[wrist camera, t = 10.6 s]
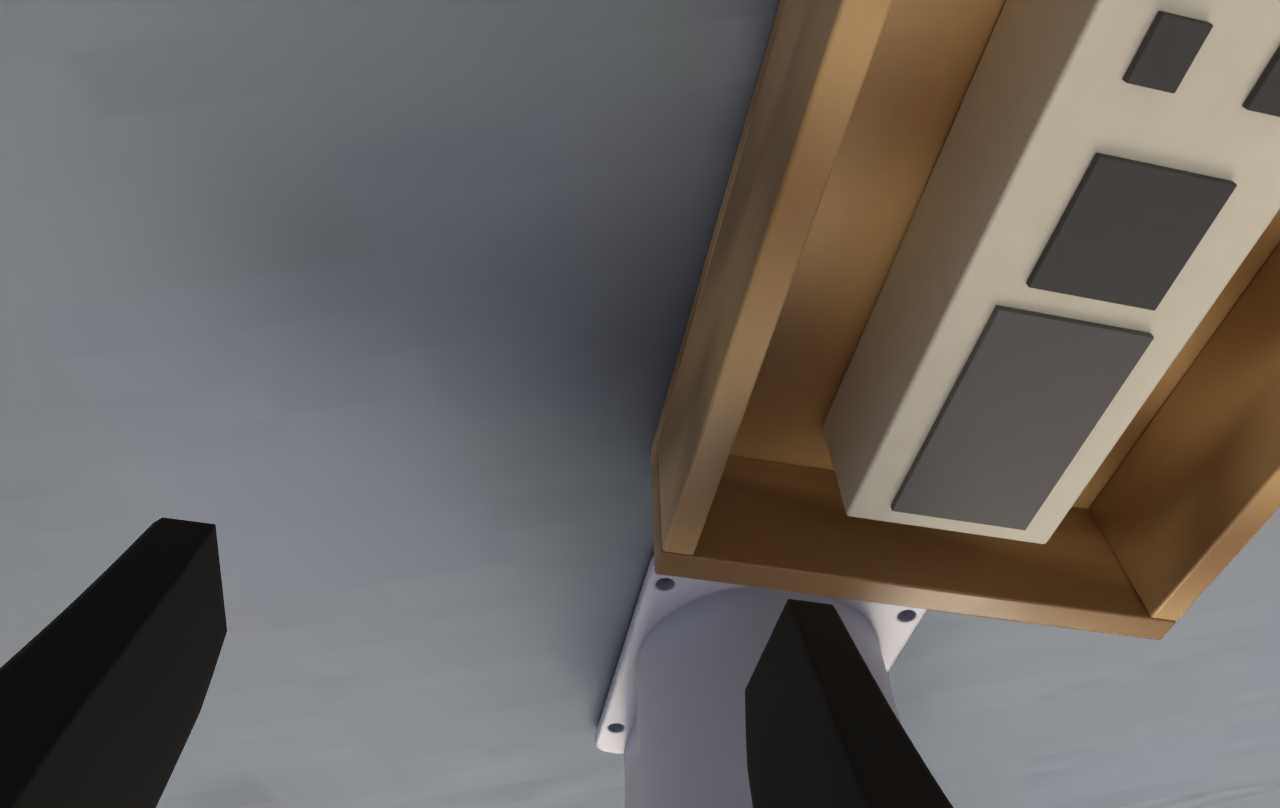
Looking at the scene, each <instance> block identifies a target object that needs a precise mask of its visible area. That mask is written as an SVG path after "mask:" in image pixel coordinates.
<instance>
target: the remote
mask: <svg viewBox="0 0 1280 808" xmlns="http://www.w3.org/2000/svg"><path fill="white" fill-rule="evenodd" d="M1279 209H1280V0H1006V2H1005V4H1004V7H1003V9H1002V11H1001V13H1000V16H999V18H998V20H997V23H996V25H995V27H994V30H993V32H992V34H991V37H990V39H989V41H988V44H987V46H986V48H985V51H984V53H983V55H982V58H981V60H980V62H979V65H978V67H977V69H976V71H975V74H974V76H973V78H972V81H971V83H970V85H969V88H968V90H967V92H966V95H965V97H964V99H963V102H962V104H961V106H960V109H959V111H958V113H957V116H956V118H955V120H954V123H953V125H952V127H951V130H950V132H949V134H948V136H947V139H946V141H945V143H944V146H943V148H942V150H941V153H940V155H939V157H938V160H937V162H936V164H935V167H934V169H933V171H932V174H931V176H930V178H929V181H928V183H927V185H926V188H925V190H924V192H923V195H922V197H921V199H920V201H919V204H918V206H917V208H916V211H915V213H914V215H913V218H912V220H911V222H910V225H909V227H908V229H907V232H906V234H905V236H904V239H903V241H902V243H901V246H900V248H899V250H898V253H897V255H896V257H895V259H894V262H893V264H892V266H891V269H890V271H889V273H888V276H887V278H886V280H885V283H884V285H883V287H882V290H881V292H880V294H879V297H878V299H877V301H876V304H875V306H874V308H873V311H872V313H871V315H870V318H869V320H868V322H867V324H866V327H865V329H864V331H863V334H862V336H861V338H860V341H859V343H858V345H857V348H856V350H855V352H854V355H853V357H852V359H851V362H850V364H849V366H848V369H847V371H846V373H845V376H844V378H843V380H842V382H841V385H840V387H839V389H838V392H837V394H836V396H835V399H834V401H833V403H832V406H831V408H830V410H829V413H828V415H827V417H826V420H825V422H824V424H823V430H824V434H825V437H826V441H827V445H828V449H829V452H830V456H831V460H832V463H833V467H834V471H835V475H836V478H837V482H838V486H839V489H840V493H841V497H842V500H843V504H844V508H845V512H846V514H847V515H848V516H851V517H858V518H865V519H872V520H879V521H886V522H892V523H899V524H906V525H913V526H920V527H927V528H934V529H941V530H948V531H955V532H962V533H969V534H976V535H983V536H990V537H997V538H1004V539H1011V540H1018V541H1025V542H1032V543H1039V544H1045V543H1047V541H1048V540H1049V539H1050V537H1051V536H1052V534H1053V533H1054V531H1055V530H1056V529H1057V527H1058V526H1059V524H1060V523H1061V521H1062V520H1063V518H1064V517H1065V516H1066V514H1067V513H1068V511H1069V510H1070V508H1071V507H1072V506H1073V504H1074V503H1075V501H1076V500H1077V498H1078V497H1079V496H1080V494H1081V493H1082V491H1083V490H1084V488H1085V487H1086V486H1087V484H1088V483H1089V481H1090V480H1091V478H1092V477H1093V476H1094V474H1095V473H1096V471H1097V470H1098V468H1099V467H1100V466H1101V464H1102V463H1103V461H1104V460H1105V458H1106V457H1107V455H1108V454H1109V453H1110V451H1111V450H1112V448H1113V447H1114V445H1115V444H1116V443H1117V441H1118V440H1119V438H1120V437H1121V435H1122V434H1123V433H1124V431H1125V430H1126V428H1127V427H1128V425H1129V424H1130V423H1131V421H1132V420H1133V418H1134V417H1135V415H1136V414H1137V413H1138V411H1139V410H1140V408H1141V407H1142V405H1143V404H1144V403H1145V401H1146V400H1147V398H1148V397H1149V395H1150V394H1151V392H1152V391H1153V390H1154V388H1155V387H1156V385H1157V384H1158V382H1159V381H1160V380H1161V378H1162V377H1163V375H1164V374H1165V372H1166V371H1167V370H1168V368H1169V367H1170V365H1171V364H1172V362H1173V361H1174V360H1175V358H1176V357H1177V355H1178V354H1179V352H1180V351H1181V350H1182V348H1183V347H1184V345H1185V344H1186V342H1187V341H1188V340H1189V338H1190V337H1191V335H1192V334H1193V332H1194V331H1195V329H1196V328H1197V327H1198V325H1199V324H1200V322H1201V321H1202V319H1203V318H1204V317H1205V315H1206V314H1207V312H1208V311H1209V309H1210V308H1211V307H1212V305H1213V304H1214V302H1215V301H1216V299H1217V298H1218V297H1219V295H1220V294H1221V292H1222V291H1223V289H1224V288H1225V287H1226V285H1227V284H1228V282H1229V281H1230V279H1231V278H1232V277H1233V275H1234V274H1235V272H1236V271H1237V269H1238V268H1239V266H1240V265H1241V264H1242V262H1243V261H1244V259H1245V258H1246V256H1247V255H1248V254H1249V252H1250V251H1251V249H1252V248H1253V246H1254V245H1255V244H1256V242H1257V241H1258V239H1259V238H1260V236H1261V235H1262V234H1263V232H1264V231H1265V229H1266V228H1267V226H1268V225H1269V224H1270V222H1271V221H1272V219H1273V218H1274V216H1275V215H1276V214H1277V212H1278V211H1279Z"/></svg>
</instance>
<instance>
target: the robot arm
mask: <svg viewBox="0 0 1280 808" xmlns="http://www.w3.org/2000/svg"><path fill="white" fill-rule="evenodd" d="M662 578H669V579H668V580H662ZM926 611H927V609H919V608H911V607H904V606H896V605H889V604H881V603H873V602H866V601H858V600H850V599H843V598H835V597H827V596H820V595H812V594H804V593H797V592H789V591H782V590H774V589H766V588H759V587H751V586H743V585H736V584H728V583H720V582H713V581H705V580H698V579H690V578H682V577H675V576H667V575H659V574H655V566H654V556H653V558H652V559H651V561H650V564H649V567H648V571H647V574H646V577H645V580H644V583H643V586H642V589H641V593H640V596H639V599H638V602H637V605H636V608H635V611H634V614H633V618H632V621H631V624H630V627H629V630H628V633H627V636H626V640H625V643H624V646H623V649H622V652H621V655H620V658H619V662H618V665H617V668H616V671H615V674H614V677H613V680H612V684H611V687H610V690H609V693H608V696H607V699H606V702H605V705H604V709H603V712H602V715H601V718H600V721H599V724H598V727H597V731H596V734H595V746H596V747H597V748H598V749H599V750H601V751H603V752H607V753H617V754H625V808H953V806H952V805H951V804H950V802H949V801H948V799H947V797H946V796H945V794H944V793H943V791H942V790H941V788H940V787H939V785H938V784H937V782H936V780H935V779H934V777H933V776H932V774H931V773H930V771H929V769H928V768H927V766H926V765H925V763H924V761H923V760H922V758H921V756H920V755H919V753H918V751H917V750H916V748H915V747H914V745H913V743H912V742H911V740H910V738H909V737H908V735H907V734H906V732H905V730H904V729H903V727H902V725H901V724H900V720H899V716H898V713H897V709H896V705H895V701H894V698H893V694H892V690H891V686H890V683H889V679H888V675H887V673H888V672H889V670H890V669H891V667H892V665H893V664H894V662H895V661H896V659H897V657H898V656H899V654H900V653H901V651H902V649H903V648H904V646H905V644H906V643H907V641H908V640H909V638H910V636H911V635H912V633H913V632H914V630H915V628H916V627H917V625H918V624H919V622H920V620H921V619H922V617H923V616H924V614H925V612H926ZM226 632H227V627H226V618H225V609H224V599H223V590H222V581H221V572H220V563H219V554H218V545H217V536H216V527H215V524H208V523H200V522H192V521H185V520H177V519H169V518H161V519H159V520H158V521H156V522H154V523H153V524H152V525H151V526H150V527H149V528H148V529H147V530H146V531H145V532H144V533H143V534H142V535H141V536H140V537H139V538H138V539H137V540H136V541H135V542H134V543H133V544H132V545H131V546H130V547H129V548H128V549H127V550H126V551H125V552H124V553H123V554H122V555H121V556H120V557H119V558H118V559H117V560H116V561H115V562H114V563H113V564H112V565H111V566H110V567H109V568H108V569H107V570H106V571H105V572H104V573H103V574H102V575H101V576H100V577H99V578H98V579H97V580H96V581H95V582H94V583H92V584H91V585H90V586H89V587H88V588H87V589H86V590H85V591H84V592H83V593H82V594H81V595H80V596H79V597H78V598H77V599H76V600H75V601H74V602H73V603H71V604H70V605H69V606H68V607H67V608H66V609H65V610H64V611H63V612H62V613H61V614H60V615H59V616H58V617H56V618H55V619H54V620H53V621H52V622H51V623H50V624H49V625H48V626H46V627H45V628H44V629H43V630H42V631H41V632H40V633H39V634H38V635H37V636H35V637H34V638H33V639H32V640H31V641H30V642H29V643H28V644H27V645H26V646H24V647H23V648H22V649H21V650H20V651H19V652H18V653H17V654H16V655H14V656H13V657H12V658H11V659H10V660H9V661H8V662H7V663H6V664H4V665H3V666H2V667H1V668H0V808H156V806H157V804H158V802H159V799H160V797H161V795H162V793H163V791H164V789H165V787H166V784H167V782H168V780H169V778H170V776H171V774H172V772H173V769H174V767H175V765H176V763H177V761H178V759H179V756H180V754H181V752H182V750H183V748H184V746H185V743H186V741H187V739H188V737H189V735H190V733H191V730H192V728H193V726H194V724H195V722H196V719H197V717H198V715H199V713H200V711H201V708H202V705H203V702H204V699H205V696H206V693H207V690H208V687H209V684H210V681H211V679H212V676H213V673H214V669H215V666H216V663H217V660H218V657H219V654H220V651H221V648H222V645H223V642H224V638H225V635H226Z"/></svg>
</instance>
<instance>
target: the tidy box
mask: <svg viewBox="0 0 1280 808" xmlns="http://www.w3.org/2000/svg"><path fill="white" fill-rule="evenodd" d="M1005 2H1006V0H780V2H779V6H778V9H777V13H776V16H775V20H774V23H773V27H772V30H771V34H770V37H769V41H768V44H767V48H766V51H765V55H764V58H763V62H762V65H761V69H760V72H759V76H758V79H757V83H756V86H755V89H754V93H753V96H752V100H751V103H750V107H749V110H748V114H747V117H746V121H745V124H744V128H743V131H742V135H741V138H740V142H739V145H738V149H737V152H736V156H735V159H734V163H733V166H732V170H731V173H730V176H729V180H728V183H727V187H726V190H725V194H724V197H723V201H722V204H721V208H720V211H719V215H718V218H717V222H716V225H715V229H714V232H713V236H712V239H711V243H710V246H709V250H708V253H707V256H706V260H705V263H704V267H703V270H702V274H701V277H700V281H699V284H698V288H697V291H696V295H695V298H694V302H693V305H692V309H691V312H690V316H689V319H688V323H687V326H686V330H685V333H684V337H683V340H682V343H681V347H680V350H679V354H678V357H677V361H676V364H675V368H674V371H673V375H672V378H671V382H670V385H669V389H668V392H667V396H666V399H665V403H664V406H663V410H662V413H661V417H660V420H659V424H658V427H657V430H656V434H655V437H654V441H653V444H652V448H651V480H652V509H653V538H654V566H655V574H659V575H667V576H675V577H682V578H690V579H698V580H705V581H713V582H720V583H728V584H736V585H743V586H751V587H759V588H766V589H774V590H782V591H789V592H797V593H804V594H812V595H820V596H827V597H835V598H843V599H850V600H858V601H866V602H873V603H881V604H889V605H896V606H904V607H911V608H919V609H927V610H934V611H942V612H950V613H957V614H965V615H973V616H980V617H988V618H995V619H1003V620H1011V621H1018V622H1026V623H1034V624H1041V625H1049V626H1057V627H1064V628H1072V629H1080V630H1087V631H1095V632H1102V633H1110V634H1118V635H1125V636H1133V637H1141V638H1148V639H1156V640H1160V639H1161V638H1162V637H1163V636H1164V635H1165V634H1166V633H1167V632H1168V631H1169V630H1170V628H1171V627H1172V626H1173V625H1174V624H1175V622H1176V620H1178V619H1179V618H1180V617H1181V616H1182V615H1183V614H1184V613H1185V611H1186V610H1187V609H1188V608H1189V607H1190V606H1191V605H1192V604H1193V602H1194V601H1195V600H1196V599H1197V598H1198V597H1199V596H1200V595H1201V594H1202V592H1203V591H1204V590H1205V589H1206V588H1207V587H1208V586H1209V585H1210V584H1211V582H1212V581H1213V580H1214V579H1215V578H1216V577H1217V576H1218V575H1219V573H1220V572H1221V571H1222V570H1223V569H1224V568H1225V567H1226V566H1227V565H1228V563H1229V562H1230V561H1231V560H1232V559H1233V558H1234V557H1235V556H1236V554H1237V553H1238V552H1239V551H1240V550H1241V549H1242V548H1243V547H1244V546H1245V544H1246V543H1247V542H1248V541H1249V540H1250V539H1251V538H1252V537H1253V535H1254V534H1255V533H1256V532H1257V531H1258V530H1259V529H1260V528H1261V527H1262V525H1263V524H1264V523H1265V522H1266V521H1267V520H1268V519H1269V518H1270V516H1271V515H1272V514H1273V513H1274V512H1275V511H1276V510H1277V509H1278V508H1279V506H1280V209H1279V211H1278V212H1277V214H1276V215H1275V216H1274V218H1273V219H1272V221H1271V222H1270V224H1269V225H1268V226H1267V228H1266V229H1265V231H1264V232H1263V234H1262V235H1261V236H1260V238H1259V239H1258V241H1257V242H1256V244H1255V245H1254V246H1253V248H1252V249H1251V251H1250V252H1249V254H1248V255H1247V256H1246V258H1245V259H1244V261H1243V262H1242V264H1241V265H1240V266H1239V268H1238V269H1237V271H1236V272H1235V274H1234V275H1233V277H1232V278H1231V279H1230V281H1229V282H1228V284H1227V285H1226V287H1225V288H1224V289H1223V291H1222V292H1221V294H1220V295H1219V297H1218V298H1217V299H1216V301H1215V302H1214V304H1213V305H1212V307H1211V308H1210V309H1209V311H1208V312H1207V314H1206V315H1205V317H1204V318H1203V319H1202V321H1201V322H1200V324H1199V325H1198V327H1197V328H1196V329H1195V331H1194V332H1193V334H1192V335H1191V337H1190V338H1189V340H1188V341H1187V342H1186V344H1185V345H1184V347H1183V348H1182V350H1181V351H1180V352H1179V354H1178V355H1177V357H1176V358H1175V360H1174V361H1173V362H1172V364H1171V365H1170V367H1169V368H1168V370H1167V371H1166V372H1165V374H1164V375H1163V377H1162V378H1161V380H1160V381H1159V382H1158V384H1157V385H1156V387H1155V388H1154V390H1153V391H1152V392H1151V394H1150V395H1149V397H1148V398H1147V400H1146V401H1145V403H1144V404H1143V405H1142V407H1141V408H1140V410H1139V411H1138V413H1137V414H1136V415H1135V417H1134V418H1133V420H1132V421H1131V423H1130V424H1129V425H1128V427H1127V428H1126V430H1125V431H1124V433H1123V434H1122V435H1121V437H1120V438H1119V440H1118V441H1117V443H1116V444H1115V445H1114V447H1113V448H1112V450H1111V451H1110V453H1109V454H1108V455H1107V457H1106V458H1105V460H1104V461H1103V463H1102V464H1101V466H1100V467H1099V468H1098V470H1097V471H1096V473H1095V474H1094V476H1093V477H1092V478H1091V480H1090V481H1089V483H1088V484H1087V486H1086V487H1085V488H1084V490H1083V491H1082V493H1081V494H1080V496H1079V497H1078V498H1077V500H1076V501H1075V503H1074V504H1073V506H1072V507H1071V508H1070V510H1069V511H1068V513H1067V514H1066V516H1065V517H1064V518H1063V520H1062V521H1061V523H1060V524H1059V526H1058V527H1057V529H1056V530H1055V531H1054V533H1053V534H1052V536H1051V537H1050V539H1049V540H1048V541H1047V543H1045V544H1039V543H1032V542H1025V541H1018V540H1011V539H1004V538H997V537H990V536H983V535H976V534H969V533H962V532H955V531H948V530H941V529H934V528H927V527H920V526H913V525H906V524H899V523H892V522H886V521H879V520H872V519H865V518H858V517H851V516H848V515H847V514H846V512H845V508H844V504H843V500H842V497H841V493H840V489H839V486H838V482H837V478H836V475H835V471H834V467H833V463H832V460H831V456H830V452H829V449H828V445H827V441H826V437H825V434H824V430H823V424H824V422H825V420H826V417H827V415H828V413H829V410H830V408H831V406H832V403H833V401H834V399H835V396H836V394H837V392H838V389H839V387H840V385H841V382H842V380H843V378H844V376H845V373H846V371H847V369H848V366H849V364H850V362H851V359H852V357H853V355H854V352H855V350H856V348H857V345H858V343H859V341H860V338H861V336H862V334H863V331H864V329H865V327H866V324H867V322H868V320H869V318H870V315H871V313H872V311H873V308H874V306H875V304H876V301H877V299H878V297H879V294H880V292H881V290H882V287H883V285H884V283H885V280H886V278H887V276H888V273H889V271H890V269H891V266H892V264H893V262H894V259H895V257H896V255H897V253H898V250H899V248H900V246H901V243H902V241H903V239H904V236H905V234H906V232H907V229H908V227H909V225H910V222H911V220H912V218H913V215H914V213H915V211H916V208H917V206H918V204H919V201H920V199H921V197H922V195H923V192H924V190H925V188H926V185H927V183H928V181H929V178H930V176H931V174H932V171H933V169H934V167H935V164H936V162H937V160H938V157H939V155H940V153H941V150H942V148H943V146H944V143H945V141H946V139H947V136H948V134H949V132H950V130H951V127H952V125H953V123H954V120H955V118H956V116H957V113H958V111H959V109H960V106H961V104H962V102H963V99H964V97H965V95H966V92H967V90H968V88H969V85H970V83H971V81H972V78H973V76H974V74H975V71H976V69H977V67H978V65H979V62H980V60H981V58H982V55H983V53H984V51H985V48H986V46H987V44H988V41H989V39H990V37H991V34H992V32H993V30H994V27H995V25H996V23H997V20H998V18H999V16H1000V13H1001V11H1002V9H1003V7H1004V4H1005Z"/></svg>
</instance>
